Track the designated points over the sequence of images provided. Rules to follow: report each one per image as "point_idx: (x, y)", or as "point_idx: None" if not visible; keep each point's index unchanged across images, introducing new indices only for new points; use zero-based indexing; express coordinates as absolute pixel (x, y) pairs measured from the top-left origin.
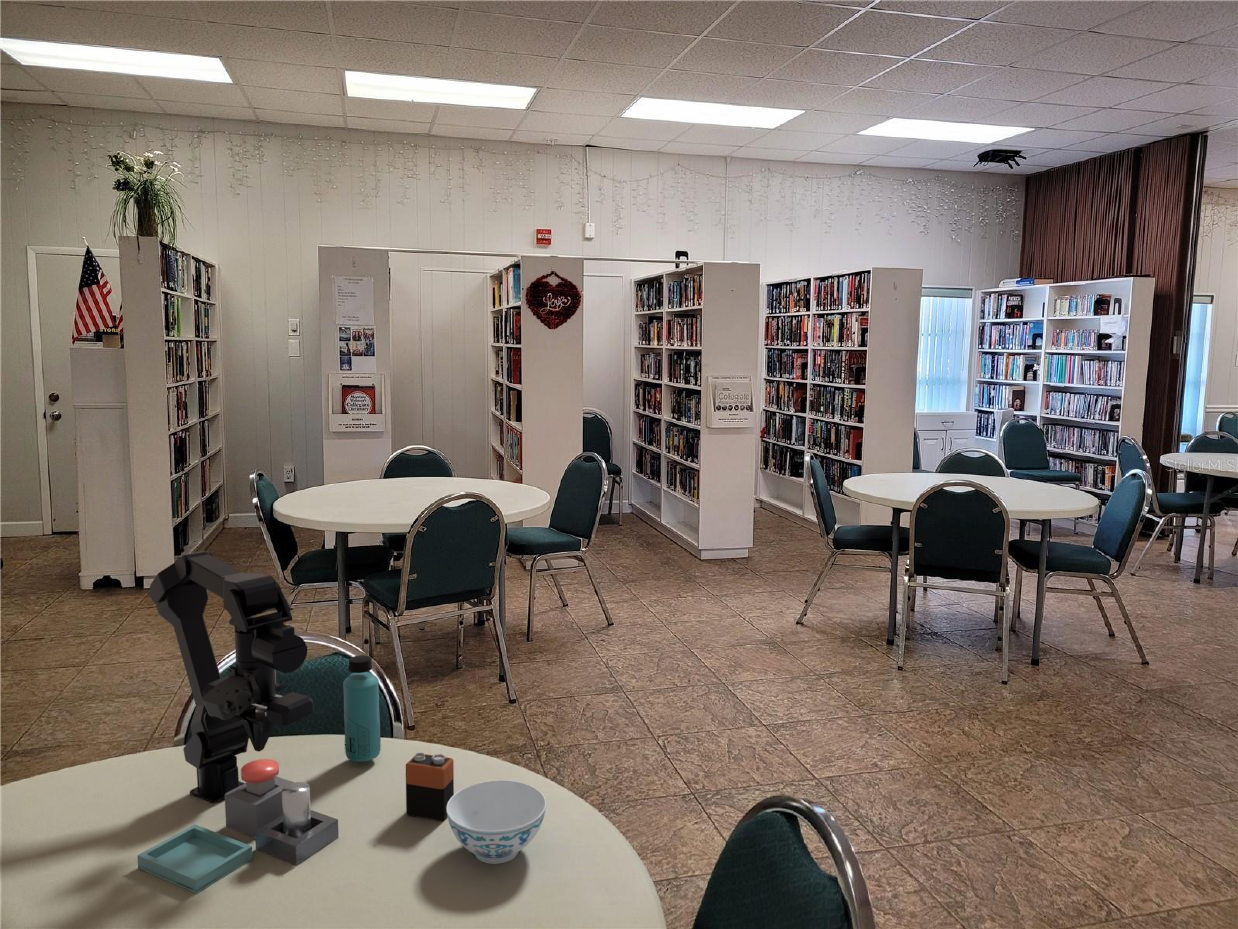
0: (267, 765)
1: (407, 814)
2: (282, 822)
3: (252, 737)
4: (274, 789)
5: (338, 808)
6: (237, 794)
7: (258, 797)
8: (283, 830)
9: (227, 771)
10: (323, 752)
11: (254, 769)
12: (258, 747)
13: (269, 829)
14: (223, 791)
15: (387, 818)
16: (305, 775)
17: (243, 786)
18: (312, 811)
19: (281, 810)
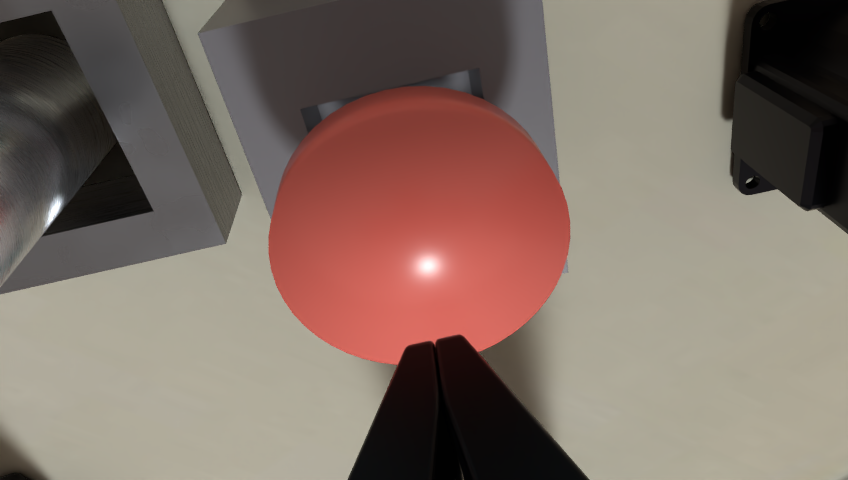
0: (404, 301)
1: (10, 475)
2: (105, 106)
3: (467, 454)
4: None
5: (247, 349)
6: (451, 18)
7: (299, 101)
8: (17, 68)
9: (818, 144)
10: (674, 475)
11: (419, 209)
12: (392, 383)
13: (42, 4)
14: (764, 76)
15: (42, 424)
16: (590, 377)
17: (525, 106)
18: (113, 262)
19: None
